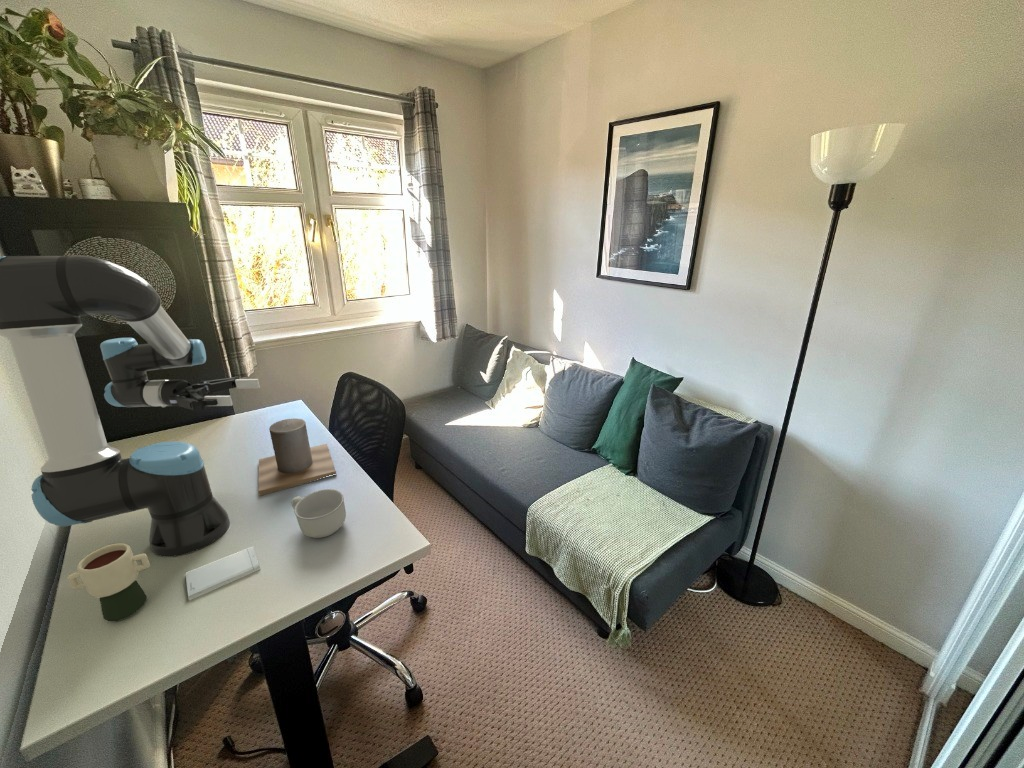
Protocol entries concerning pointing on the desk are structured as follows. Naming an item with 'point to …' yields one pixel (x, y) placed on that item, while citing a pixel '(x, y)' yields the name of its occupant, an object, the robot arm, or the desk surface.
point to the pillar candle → (291, 445)
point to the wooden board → (278, 481)
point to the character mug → (113, 580)
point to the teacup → (320, 512)
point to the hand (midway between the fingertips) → (245, 391)
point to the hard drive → (221, 572)
